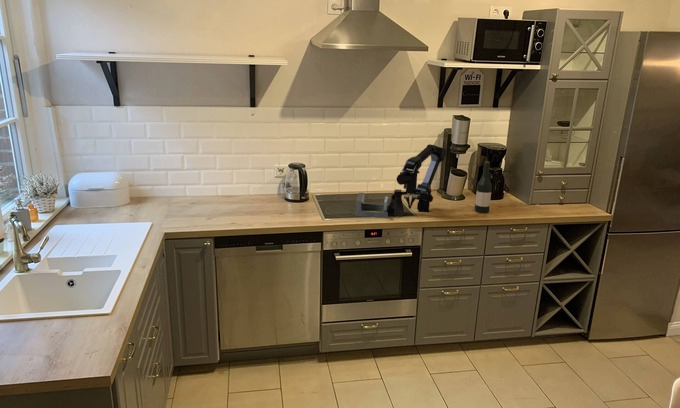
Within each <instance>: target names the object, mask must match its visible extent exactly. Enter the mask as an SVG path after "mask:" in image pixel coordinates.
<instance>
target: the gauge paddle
mask: <svg viewBox="0 0 680 408" xmlns="http://www.w3.org/2000/svg"><path fill="white" fill-rule="evenodd" d="M383 202H384V203H383V204H384V210H383V212H384V214H385V212H387V206H388V204H389V196H384V201H383Z"/></svg>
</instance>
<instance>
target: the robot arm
mask: <svg viewBox="0 0 680 408" xmlns="http://www.w3.org/2000/svg"><path fill="white" fill-rule="evenodd" d="M447 153H448V151H447V149H446V147H442V146H438V145H435V144H431V143H429V144H427V146H426V147H425V148H424V149H423V150H421V152H419V153H418V154H416V155H415V156H412V157H409V158H408V159H407V160H406V161H405V163H404V165H403V167H402V169H401V171H399V174H398V175H396V182H397V184H398V185H400V186H402V185H403V189H405V191H402V189H394V191H393V195H394V196H395V197H400V196H401V195H402V196H403V199H405V200H406V203H407V207H408V209H409V210H410V209H412V206H413V204H414V202H415V201H416V200H418V201H417V204H416V205H417V207H416V209H417V212H421V213H429V212H430V203H432V202H433V200H434V196H433V195H432V184H433V180H434V178H435V175H436V174H437V171H438V167H439V165H440V163H442V162H443V161H444V159H445V158H446V156H447ZM429 157H430V159H431V160H430V163H429V165H428V168H427V170H426V172H425V175H424V177H423V180H422V182H421V183H418V174H420V173H421V172H420V171H419V170H420V168H421V167H422V166H423V162H425V160H427V159H428V158H429ZM410 196H411V198H410Z"/></svg>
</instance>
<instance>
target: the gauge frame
mask: <svg viewBox="0 0 680 408" xmlns="http://www.w3.org/2000/svg"><path fill="white" fill-rule="evenodd" d="M389 204H390V203H388V206H387V209H388V207H389ZM364 209H367V210H364ZM368 209H369V210H368ZM376 210H377V211H376ZM378 210H379V211H378ZM354 213H355V217H366V218H379V219H388V217H389V214H388V212H385V214H384V203H371V202H365V193H364V192H359V193H358V194H357V197H356V200H355V212H354Z"/></svg>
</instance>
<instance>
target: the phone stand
mask: <svg viewBox="0 0 680 408" xmlns="http://www.w3.org/2000/svg"><path fill="white" fill-rule="evenodd" d="M402 198H403V195H401V196H400V197H395V196H394V194H392V195H391V198H390V202H389V203H388V204H389V207H388V209H387V212H388V216H392V217H397V218H400V217H403V216H405V215H406V213H405V208H404V204H403V199H402Z"/></svg>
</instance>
